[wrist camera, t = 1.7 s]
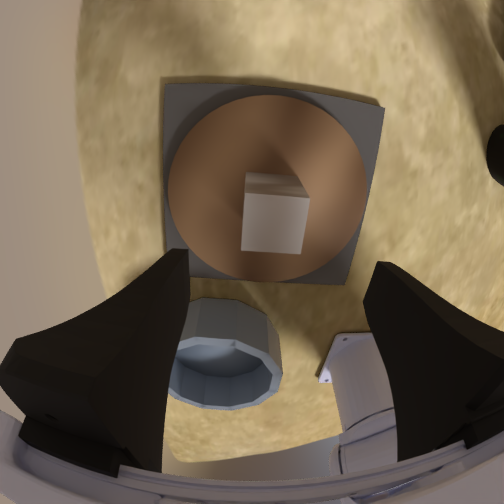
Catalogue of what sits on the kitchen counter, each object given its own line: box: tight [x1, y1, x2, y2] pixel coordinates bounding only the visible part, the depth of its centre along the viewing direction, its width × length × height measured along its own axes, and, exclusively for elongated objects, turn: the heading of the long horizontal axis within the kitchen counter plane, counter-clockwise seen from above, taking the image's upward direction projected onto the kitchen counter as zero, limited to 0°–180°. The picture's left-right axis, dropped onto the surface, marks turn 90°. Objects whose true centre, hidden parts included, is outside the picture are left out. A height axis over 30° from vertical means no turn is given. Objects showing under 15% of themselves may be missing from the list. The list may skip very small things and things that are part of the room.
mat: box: [163, 83, 385, 285], centre depth 19 cm, size 14×14×1 cm
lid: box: [168, 95, 367, 282], centre depth 17 cm, size 13×13×5 cm
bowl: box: [168, 297, 283, 410], centre depth 25 cm, size 11×11×4 cm
